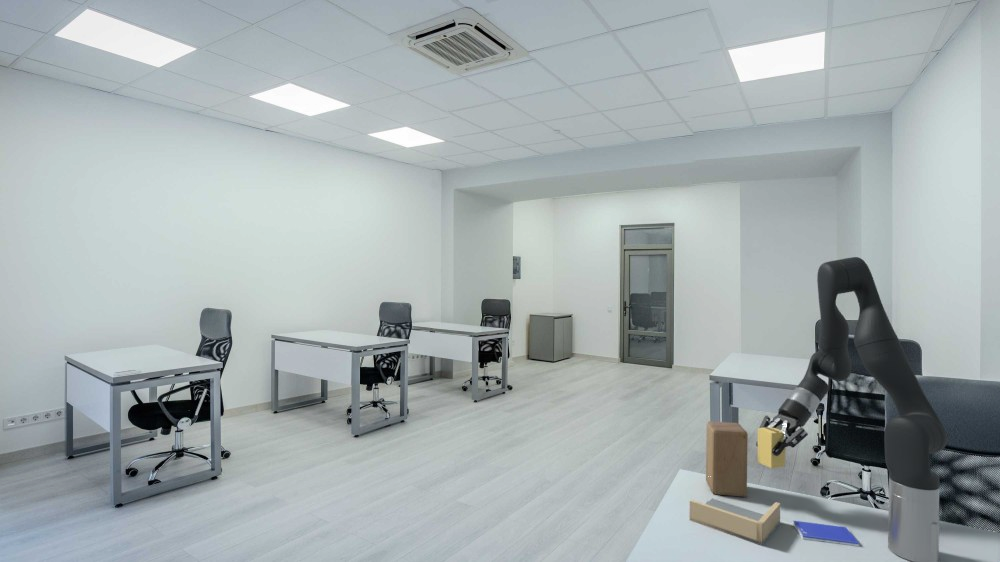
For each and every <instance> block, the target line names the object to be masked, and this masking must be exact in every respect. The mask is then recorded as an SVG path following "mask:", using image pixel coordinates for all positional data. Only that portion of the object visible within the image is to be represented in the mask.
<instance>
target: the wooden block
mask: <svg viewBox="0 0 1000 562" xmlns="http://www.w3.org/2000/svg"><path fill="white" fill-rule="evenodd" d="M748 436H749V435H748V432H747V431H746V430H745V429H744V428H743V426H742V425H741V424H740V423H738V422H728V421H727V422H726V421H712V420H711V421H707V422H706V435H705V437H706V442H705V443H706V444H705V446H706V448H705V449H706V453H705V481H706V484H707V485H708V487H709V490H710V491H711V493H712V494H714V495H721V496H731V497H743V498H744V497H747V493H748V492H747V491H748ZM708 476H709V477H708ZM710 476H711V477H710Z"/></svg>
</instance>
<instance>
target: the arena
mask: <svg viewBox="0 0 1000 562" xmlns="http://www.w3.org/2000/svg"><path fill="white" fill-rule="evenodd" d="M689 521H692V522H694V523H697V524H700V525H701V526H702V525H703V526H706V527H708V528H711V529H714V530H717V531H719V532H722V533H725V534H729V535H730V536H733V537H736V538H740V539H743V540H744V541H747V542H751V543H753V544H756V545H759V546H763V545H764V543H765V542H766V541H767V540H768V538H769V537H770V536H771V535H772V534H773V532H774V531H775V530H776V529H777V527H779V525H780V524H781V503H780V502H774V503H773V504H772V505H771V506H770V508H769V509H768V510H767V511H766V512H765V513H763V514H762V513H760V512H756V511H753V510H751V509H747V508H744V507H741V506H737V505H734V504H731V503H728V502H725V501H722V500H719V499H715V498H711V499H710V500H707V502H706V503H703V502H701V501H699V500H695V499H690V500H689Z"/></svg>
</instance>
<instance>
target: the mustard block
mask: <svg viewBox="0 0 1000 562" xmlns="http://www.w3.org/2000/svg"><path fill="white" fill-rule="evenodd" d="M782 433H783V432H781V430H779V429H776V428H770V427H764V428H759V427H758V428H757V441H758V447H757V463H758V464H761V465H763V466H765V467H768V468H770V469H775V468H784V467H786V447H785V448H784V450H783V451H782V453H781V454H780V455H778V456H775V455H774V454H773V453H772V449H773V448H774V446H775V445H776V444H777V442H778V441H779V442H780V438H781V437H782Z"/></svg>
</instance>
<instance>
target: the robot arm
mask: <svg viewBox="0 0 1000 562" xmlns="http://www.w3.org/2000/svg"><path fill="white" fill-rule="evenodd" d="M816 276H817V278H816V279H817V280H816V281H817V293H818V303H819V314H820V327H819V335H818V348H819V350H818V351H816V352H814V353H813V354H812V355H811V357H810V359H809V362H808V366H807V370H806V371H805V374H804V375H803V378H802V379H801V381H800V382H799V384H798V385H797V386H796V387H795V388H794V389H793V390H792V392H790V394H789V395H788V397H786V399H785V401H783V403H782V404H781V406H779V408H778V413H777V415H775V416H773V417H770V416H769V415H764V417H763V419H762V421H761V423H760V426H759V427H758V428H764V427H770V428H776V429H779V430H781V432H783V433H782V437H781V438H780V442H779V441H778V442H777V444H776V445H775V446H774V448H773V449H772V453H773V454H774V455H775V456H778V455H780V454H781V453H782V451H783V450H784V448H785V449H786V448H788V447H790V448H793V449H794V448H795V447H796V446H797V445H798V444H800V443H801V442H802V441H803V440H804V439H805V438H806V437H808V435H809V433H808V432H807V431H806V430H805V428H803V427H805V425H806V424H807V422H808V421H809V420H810V418H811V417H812V416H813V414H814V413H815V412H816V410H817V409H818V407H819V405H820V403H821V402H822V401H823V400H824V397H825V396H826V395H827V394H828V392H829V390H830V386H829V384H828V382H826V381H825V380H824V379H823V378H821V377H819V375H821V376H823V377H825V378H828V379H831V380H832V381H835V382H844V381H845V380H847V379H849V377H850V376H851V373H852V362H851V358H850V354H849V350H848V343H849V337H850V327H849V324H848V321H847V319H846V318H845V316H844V315H843V314H842V313H841V311H840V309H839V308H838V306H837V297H838V295H840V294H846V293H852V292H854V294H855V297H856V299H857V303H858V306H859V315H858V319H857V322H856V326H855V330H854V334H853V342H854V346H855V349H856V351H857V353H858V356H859V357H860V361H861V363H862V365H863V366H864V368H865V370H866V371H867V372H868V373H869V375H870V376H872V378H873V379H874V380H875V381H877V383H878V384H879V385H880V386H881V387H882V388H883V389H884V390H885V391H886V392H887V394H888V395H889V396H890V398H891V400H892V402H893V404H894V406H895V408H896V411H897V414H898V415H899V416H895V417H892V418H891V419H889V420H888V422H887V423H886V425H885V429H884V438H883V439H884V441H883V442H884V460H885V465H886V468H887V469H888V473H889V474H888V477H889V478H888V524H887V525H888V526H887V527H888V528H887V530H888V531H887V532H888V534H887V535H888V536H887V543H888V544H887V547H888V549H889V551H890V552H891V553H893V554H895V555H897V556H898V557H900V558H902V559H904V560H908V561H910V562H939V556H940V476H939V475H938V474H937V472H935V471H933V470H931V466H930V455H931V454H935V453H939V452H941V451H942V450H944V449H945V447H946V446H947V443H948V435H947V431H946V427H945V426H944V424H943V423H942V421H941V419H940V418H939V416H938V414H937V412H936V411H935V409H934V408H933V406H932V404H931V403H930V401H929V400H928V397H927V396H926V395H925V392H924V391H923V388H922V387H921V385H920V383H919V380H918V378H917V376H916V374H915V372H914V370H913V368H912V366H911V364H910V362H909V360H908V357H907V355H906V354H907V353H906V352H905V349H904V348H903V346H902V344H901V342H900V339H899V337H898V335H897V333H896V331H895V330H894V328H893V326H892V324H891V321H890V319H889V316H888V315H887V312H886V310H885V308H884V304H883V303H882V300H881V297H880V295H879V291H878V288H877V285H876V283H875V280H874V277H873V274H872V272H871V270H870V267H869V266H868V264H867V263H866V261H865V260H864V259H862V258H861V257H858V256H853V257H846V258H841V259H836V260H830V261H826V262H823V263H822V264H820V266H819V267H818V270H817V275H816ZM755 445H756V447H757V448H758V440H757V441H756V444H755Z"/></svg>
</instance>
